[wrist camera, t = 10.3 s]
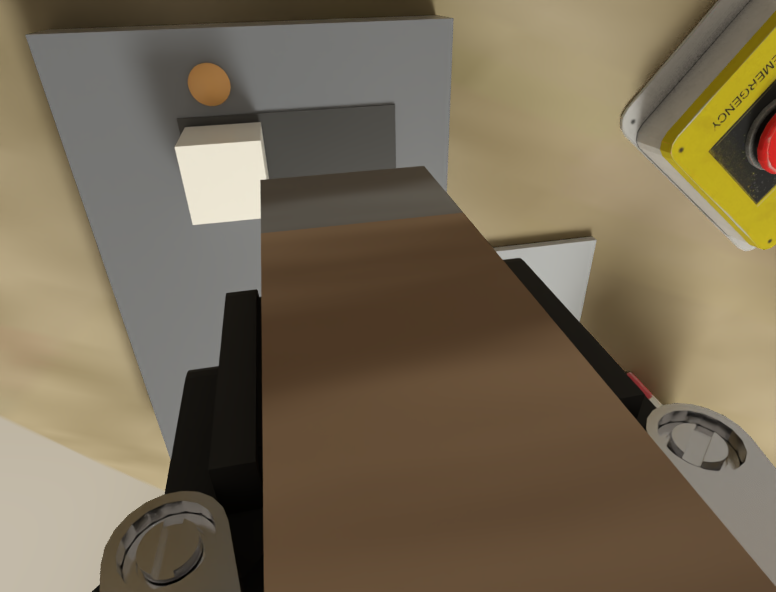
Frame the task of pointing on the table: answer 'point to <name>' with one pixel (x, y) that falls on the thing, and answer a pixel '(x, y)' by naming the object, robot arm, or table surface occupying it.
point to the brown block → (448, 417)
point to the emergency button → (718, 120)
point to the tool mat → (558, 267)
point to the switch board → (218, 107)
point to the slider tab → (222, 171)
